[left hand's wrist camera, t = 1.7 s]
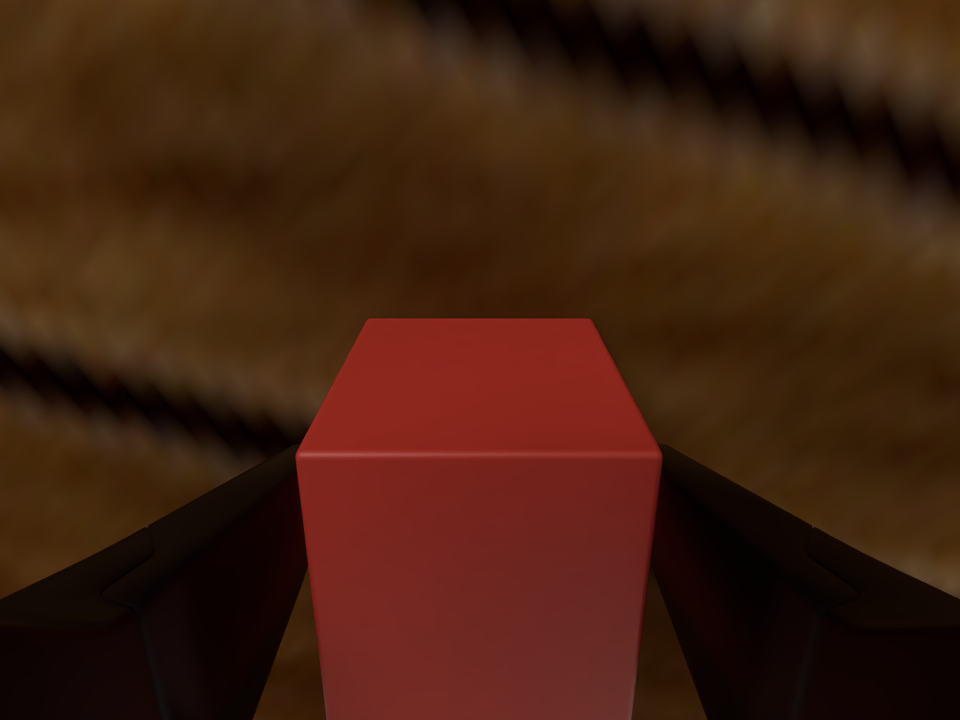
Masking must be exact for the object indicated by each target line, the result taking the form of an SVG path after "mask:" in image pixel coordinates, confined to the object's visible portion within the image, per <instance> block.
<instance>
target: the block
mask: <svg viewBox="0 0 960 720" xmlns="http://www.w3.org/2000/svg"><path fill="white" fill-rule="evenodd" d="M295 458H296V466H297V475H298V483H299V492H300V500H301V508H302V517H303V525H304V534H305V542H306V551H307V559H308V568H309V576H310V584H311V593H312V601H313V610H314V618H315V627H316V635H317V643H318V652H319V660H320V669H321V677H322V686H323V694H324V703H325V711H326V719H327V720H632V712H633V704H634V695H635V687H636V679H637V670H638V662H639V653H640V645H641V637H642V628H643V620H644V611H645V603H646V595H647V586H648V578H649V569H650V561H651V553H652V544H653V536H654V527H655V519H656V511H657V502H658V494H659V485H660V477H661V469H662V460H663V455H662V453H661V450H660V448H659V446H658V445H657V443H656V441H655V439H654V437H653V435H652V433H651V431H650V429H649V428H648V426H647V424H646V422H645V420H644V418H643V416H642V414H641V412H640V410H639V409H638V407H637V405H636V403H635V401H634V399H633V397H632V395H631V393H630V391H629V390H628V388H627V386H626V384H625V382H624V380H623V378H622V376H621V374H620V372H619V371H618V369H617V367H616V365H615V363H614V361H613V359H612V357H611V355H610V354H609V352H608V350H607V348H606V346H605V344H604V342H603V340H602V338H601V336H600V335H599V333H598V331H597V329H596V327H595V325H594V323H593V321H592V320H590V319H504V318H371V319H368V320H367V321H366V323H365V325H364V327H363V328H362V330H361V332H360V334H359V336H358V338H357V340H356V342H355V343H354V345H353V347H352V349H351V351H350V353H349V355H348V357H347V359H346V360H345V362H344V364H343V366H342V368H341V370H340V372H339V374H338V375H337V377H336V379H335V381H334V383H333V385H332V387H331V389H330V390H329V392H328V394H327V396H326V398H325V400H324V402H323V404H322V405H321V407H320V409H319V411H318V413H317V415H316V417H315V419H314V420H313V422H312V424H311V426H310V428H309V430H308V432H307V434H306V436H305V437H304V439H303V441H302V443H301V445H300V447H299V449H298V451H297V453H296V456H295Z"/></svg>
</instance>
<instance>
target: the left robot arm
mask: <svg viewBox="0 0 960 720" xmlns="http://www.w3.org/2000/svg"><path fill="white" fill-rule="evenodd" d="M300 445H301V444H295V445H293V446H291V447H289V448H287V449H285V450H284V451H282V452H280V453H278V454H276V455H275V456H273V457H271V458H269V459H267V460H265V461H264V462H262V463H260V464H258V465H256V466H255V467H253V468H251V469H249V470H247V471H246V472H244V473H242V474H240V475H238V476H237V477H235V478H233V479H231V480H229V481H228V482H226V483H224V484H222V485H220V486H218V487H217V488H215V489H213V490H211V491H209V492H208V493H206V494H204V495H202V496H200V497H199V498H197V499H195V500H193V501H191V502H190V503H188V504H186V505H184V506H182V507H180V508H179V509H177V510H175V511H173V512H171V513H170V514H168V515H166V516H164V517H162V518H161V519H159V520H157V521H155V522H153V523H152V524H150V525H149V526H148V528H146V527H144V528H142V529H140V530H139V531H137V532H135V533H133V534H132V535H130V536H128V537H126V538H124V539H122V540H120V541H119V542H117V543H115V544H113V545H111V546H109V547H107V548H105V549H104V550H102V551H100V552H98V553H96V554H94V555H92V556H90V557H88V558H86V559H84V560H82V561H79V562H77V563H75V564H73V565H71V566H69V567H67V568H65V569H63V570H61V571H59V572H57V573H55V574H53V575H50V576H48V577H46V578H44V579H42V580H40V581H38V582H36V583H34V584H31V585H29V586H27V587H25V588H23V589H21V590H19V591H17V592H15V593H12V594H10V595H8V596H6V597H4V598H2V599H0V720H253V717H254V714H255V712H256V709H257V706H258V703H259V701H260V698H261V695H262V692H263V690H264V687H265V684H266V681H267V679H268V676H269V673H270V670H271V668H272V665H273V662H274V659H275V657H276V654H277V651H278V649H279V646H280V643H281V640H282V638H283V635H284V632H285V629H286V627H287V624H288V621H289V618H290V616H291V613H292V610H293V607H294V605H295V602H296V599H297V596H298V594H299V591H300V588H301V585H302V583H303V580H304V577H305V574H306V571H307V567H308V559H307V551H306V542H305V534H304V525H303V517H302V508H301V500H300V492H299V483H298V475H297V466H296V458H295V456H296V453H297V451H298V449H299V447H300ZM657 445H658V446H659V448H660V450H661V453H662V455H663V460H662V469H661V477H660V485H659V494H658V502H657V511H656V519H655V527H654V536H653V544H652V553H651V563H652V567H653V571H654V574H655V577H656V580H657V583H658V585H659V588H660V591H661V594H662V596H663V599H664V602H665V605H666V607H667V610H668V613H669V616H670V618H671V621H672V624H673V626H674V629H675V632H676V635H677V637H678V640H679V643H680V646H681V648H682V651H683V654H684V657H685V659H686V662H687V665H688V668H689V670H690V673H691V676H692V679H693V681H694V684H695V687H696V689H697V692H698V695H699V698H700V700H701V703H702V706H703V709H704V711H705V714H706V717H707V720H960V599H958V598H956V597H954V596H952V595H950V594H948V593H946V592H943V591H941V590H939V589H937V588H935V587H933V586H931V585H929V584H927V583H924V582H922V581H920V580H918V579H916V578H914V577H912V576H910V575H908V574H905V573H903V572H901V571H899V570H897V569H895V568H893V567H891V566H889V565H887V564H885V563H883V562H881V561H879V560H877V559H874V558H872V557H870V556H868V555H866V554H864V553H862V552H860V551H858V550H857V549H855V548H853V547H851V546H849V545H847V544H845V543H843V542H841V541H840V540H838V539H836V538H834V537H832V536H830V535H829V534H827V533H825V532H823V531H821V530H820V529H818V528H816V527H814V528H812V526H811V525H810V524H809V523H807V522H805V521H803V520H801V519H799V518H798V517H796V516H794V515H792V514H790V513H789V512H787V511H785V510H783V509H781V508H780V507H778V506H776V505H774V504H772V503H771V502H769V501H767V500H765V499H763V498H761V497H760V496H758V495H756V494H754V493H752V492H751V491H749V490H747V489H745V488H743V487H742V486H740V485H738V484H736V483H734V482H733V481H731V480H729V479H727V478H725V477H723V476H722V475H720V474H718V473H716V472H714V471H713V470H711V469H709V468H707V467H705V466H704V465H702V464H700V463H698V462H696V461H695V460H693V459H691V458H689V457H687V456H686V455H684V454H682V453H680V452H678V451H676V450H675V449H673V448H671V447H669V446H667V445H665V444H657Z"/></svg>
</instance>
